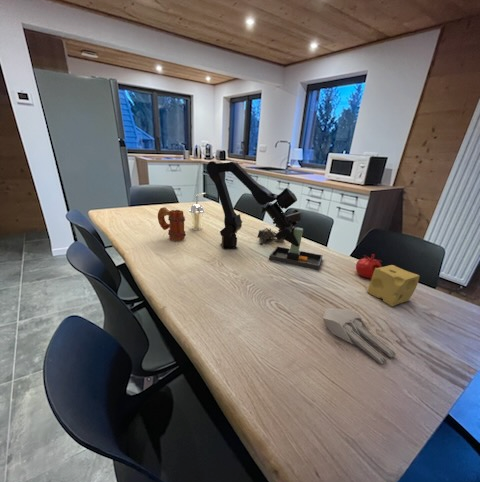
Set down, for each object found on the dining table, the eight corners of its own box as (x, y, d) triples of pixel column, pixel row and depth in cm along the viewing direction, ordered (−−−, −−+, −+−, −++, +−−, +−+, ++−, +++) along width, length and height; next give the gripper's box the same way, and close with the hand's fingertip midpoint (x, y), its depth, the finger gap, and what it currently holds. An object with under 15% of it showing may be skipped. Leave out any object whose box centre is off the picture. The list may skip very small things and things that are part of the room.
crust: (298, 261, 116) (298, 258, 115) (299, 258, 119) (299, 255, 118) (306, 262, 115) (306, 259, 114) (307, 260, 118) (307, 257, 117)
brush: (297, 261, 115) (303, 231, 109) (286, 258, 116) (291, 229, 110) (299, 257, 119) (305, 228, 113) (288, 254, 121) (293, 226, 114)
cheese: (392, 307, 87) (402, 280, 83) (365, 291, 96) (373, 267, 91) (410, 301, 92) (421, 275, 88) (383, 287, 100) (391, 263, 96)
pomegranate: (350, 274, 108) (355, 253, 104) (359, 268, 115) (364, 248, 111) (374, 283, 103) (382, 261, 98) (382, 276, 109) (389, 255, 105)
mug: (189, 238, 134) (189, 209, 128) (181, 243, 127) (180, 212, 121) (164, 233, 138) (163, 205, 132) (155, 238, 131) (153, 208, 125)
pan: (268, 260, 115) (269, 255, 114) (276, 251, 127) (277, 246, 125) (318, 271, 109) (319, 265, 108) (321, 260, 120) (322, 255, 119)
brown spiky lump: (290, 240, 133) (267, 223, 128) (276, 255, 137) (254, 240, 132) (285, 232, 143) (264, 216, 138) (272, 246, 147) (251, 231, 142)
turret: (372, 374, 63) (381, 361, 60) (313, 319, 76) (318, 307, 74) (394, 359, 68) (403, 346, 66) (335, 310, 81) (340, 298, 79)
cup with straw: (189, 226, 153) (189, 190, 145) (205, 226, 155) (205, 191, 146) (188, 230, 146) (188, 193, 137) (205, 231, 147) (205, 194, 138)
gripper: (287, 208, 101) (311, 240, 102) (297, 200, 117) (317, 228, 118) (266, 224, 107) (288, 255, 108) (277, 215, 122) (297, 242, 124)
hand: (299, 244), depth 114 cm, fingers closed on brush, 3 cm apart
